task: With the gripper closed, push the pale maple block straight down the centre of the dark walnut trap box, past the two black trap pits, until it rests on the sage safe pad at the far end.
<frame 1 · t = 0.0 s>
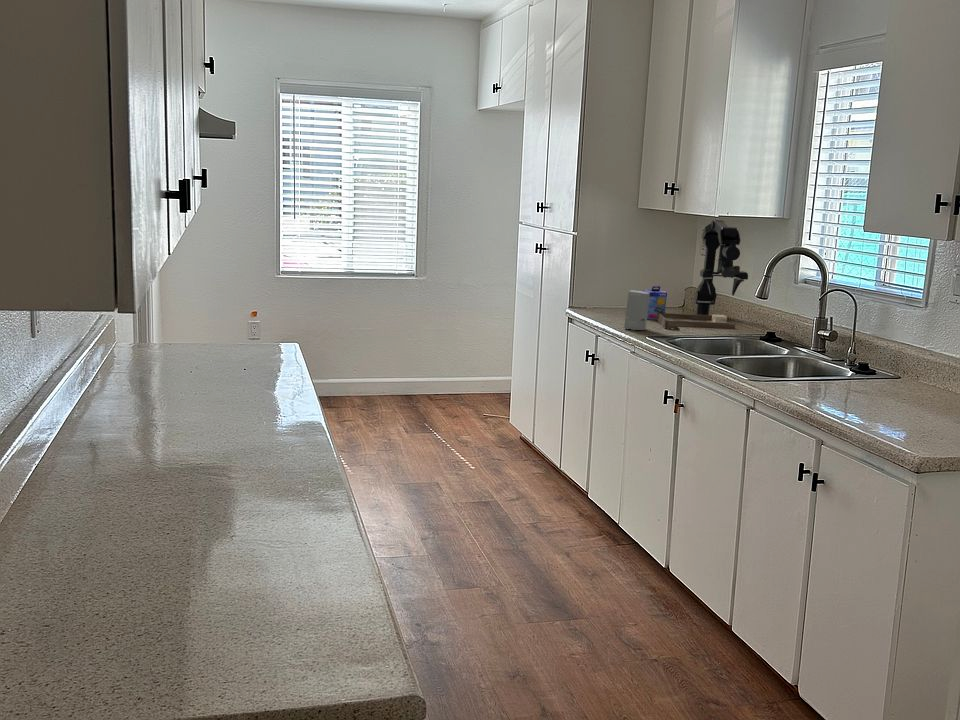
hand: (721, 295, 389), 15 cm above the worktop, fingers open, 9 cm apart
ink cartridge box: (652, 318, 412), on the worktop
maple block: (718, 323, 397), point 1 cm above the worktop, touching trap box
trap box: (695, 326, 398), on the worktop
skincare box: (635, 329, 385), on the worktop
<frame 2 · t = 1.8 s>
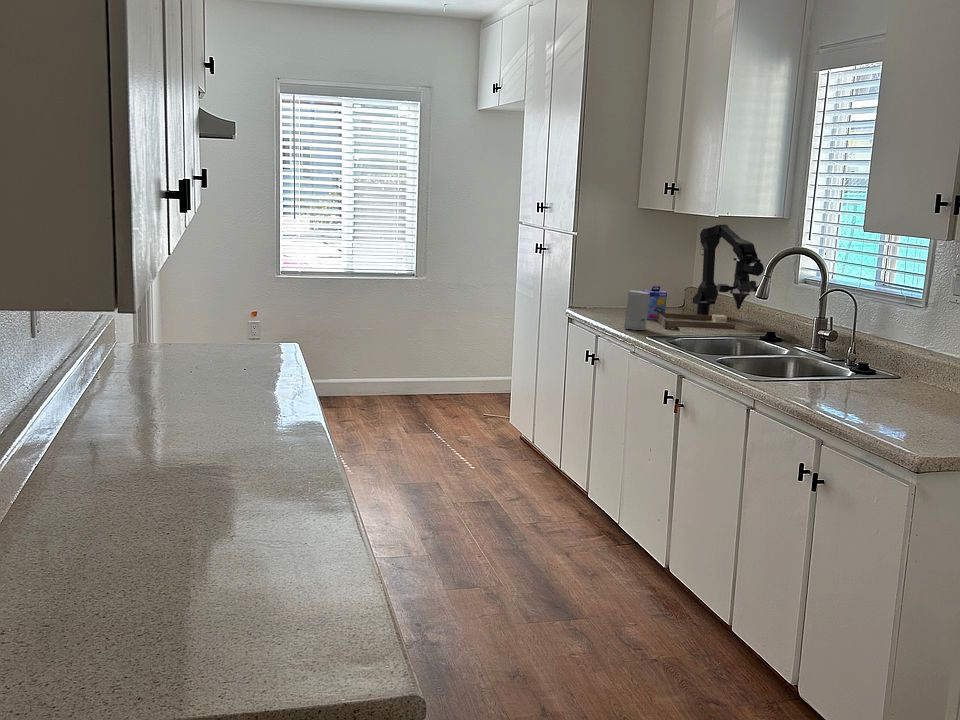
hand: (737, 309, 396), 8 cm above the worktop, fingers closed
nothing on the worktop moved.
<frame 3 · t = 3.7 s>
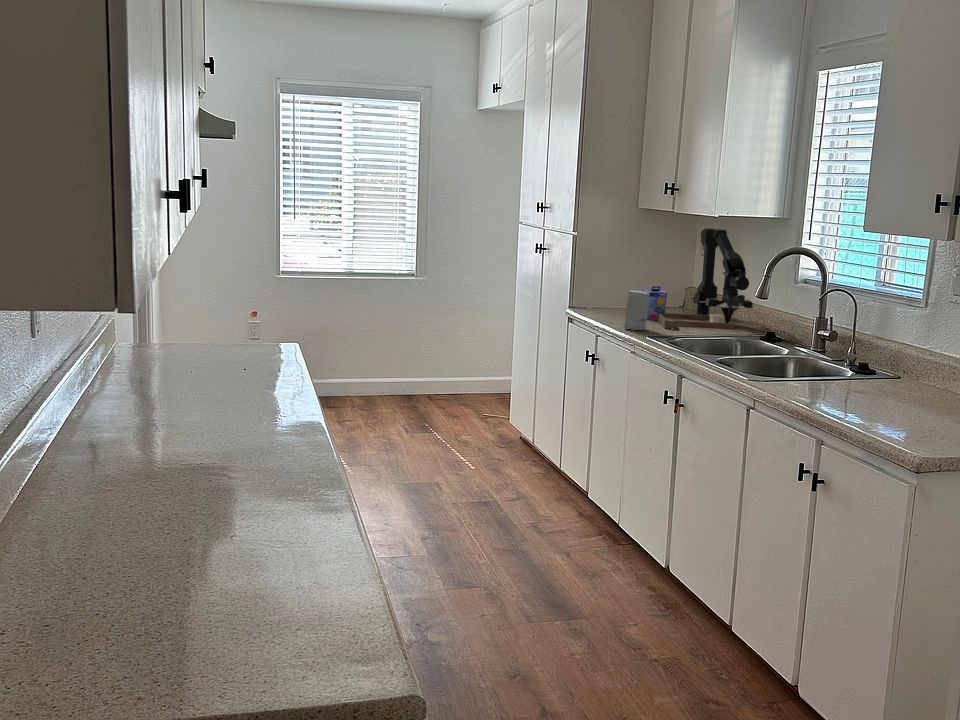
hand: (726, 323, 397), 2 cm above the worktop, fingers closed
maple block: (716, 323, 397), point 2 cm above the worktop, touching gripper
everything else where it was.
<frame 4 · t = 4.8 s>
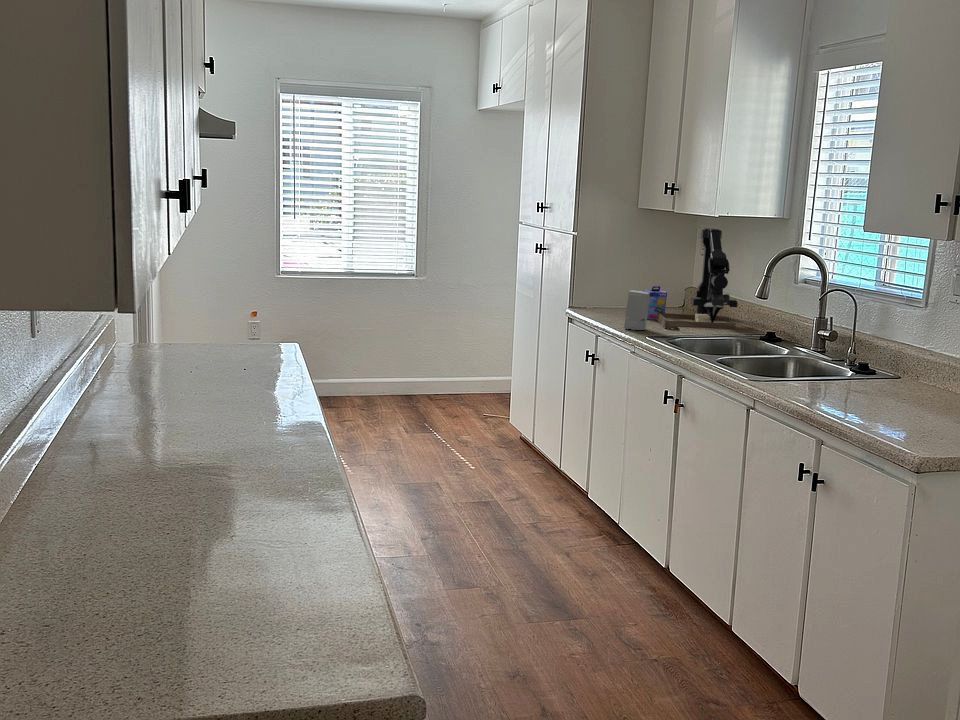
hand: (712, 322, 397), 2 cm above the worktop, fingers closed
maple block: (701, 323, 397), point 1 cm above the worktop, touching gripper, trap box
everything else where it was.
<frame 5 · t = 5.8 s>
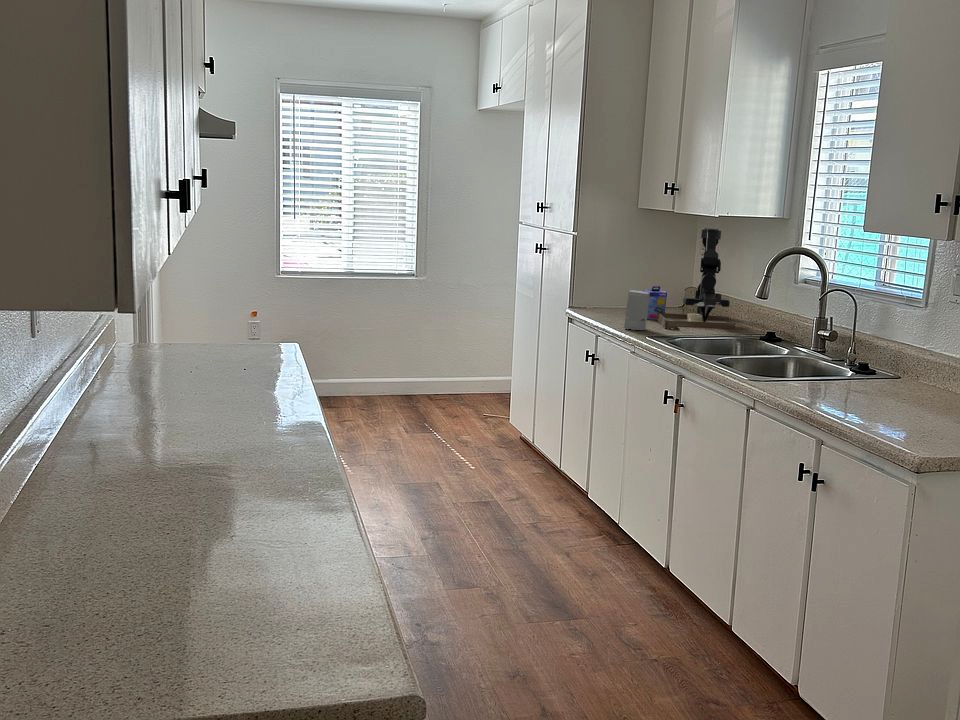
hand: (704, 321, 397), 2 cm above the worktop, fingers closed
maple block: (694, 322, 397), point 1 cm above the worktop, touching gripper, trap box
everything else where it was.
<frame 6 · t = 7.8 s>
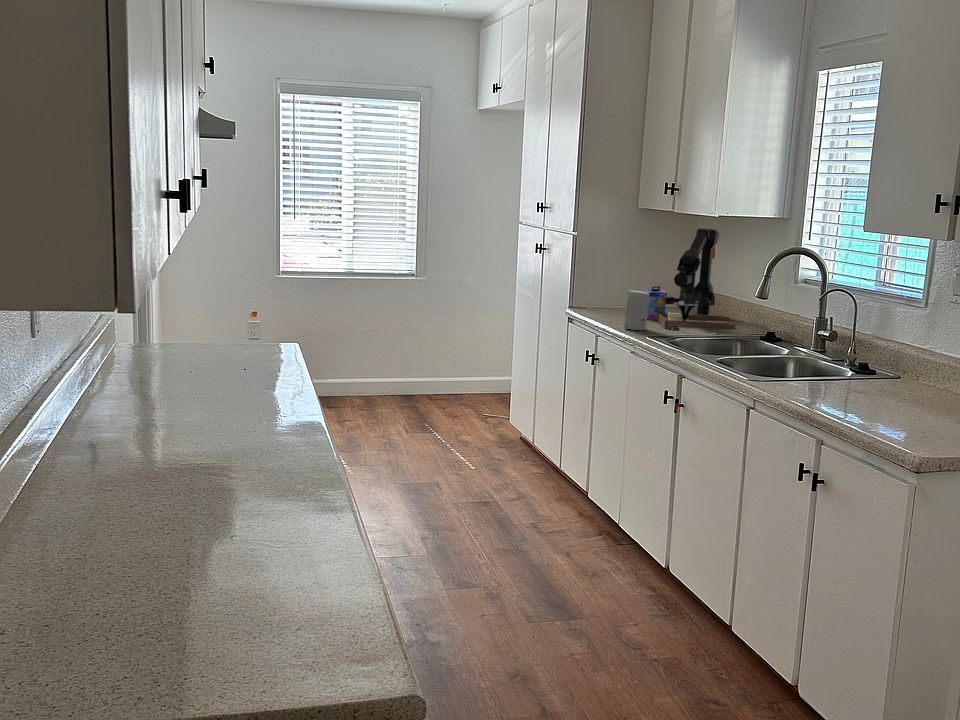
hand: (684, 320, 397), 2 cm above the worktop, fingers closed
maple block: (674, 322, 397), point 1 cm above the worktop, touching gripper, trap box
everything else where it was.
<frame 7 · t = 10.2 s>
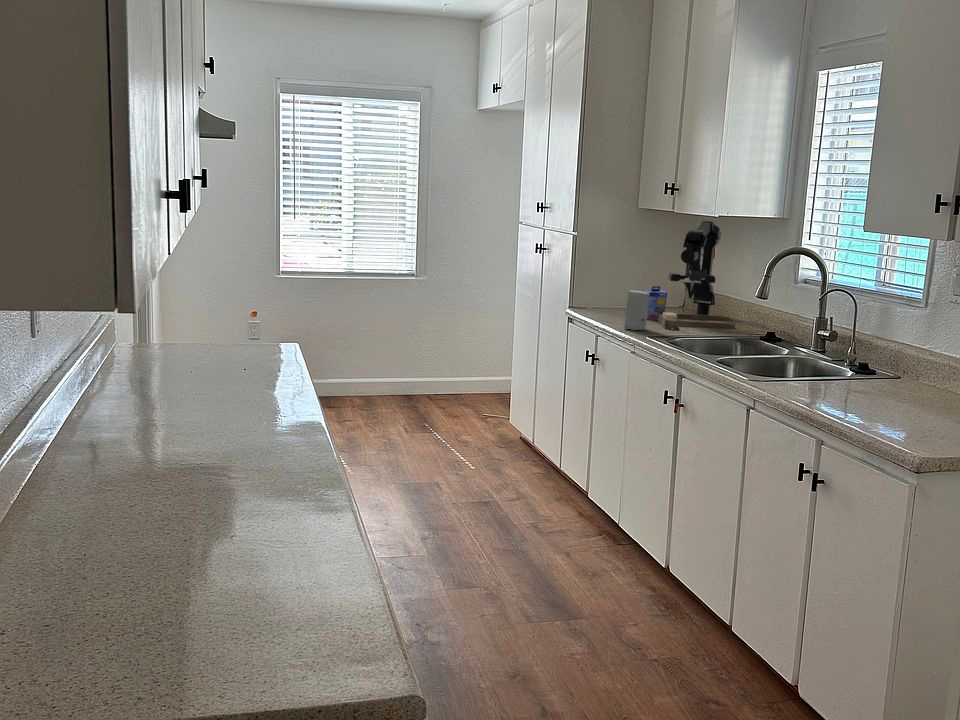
hand: (689, 298, 395), 12 cm above the worktop, fingers closed
maple block: (669, 321, 397), point 1 cm above the worktop, touching trap box
everything else where it was.
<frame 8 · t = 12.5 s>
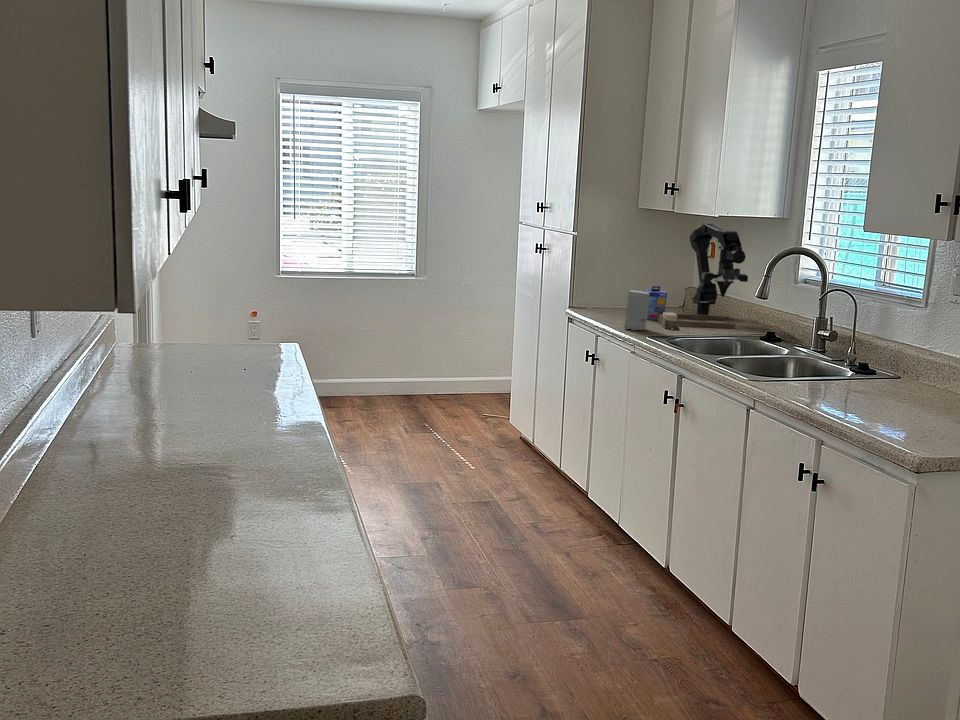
hand: (722, 296, 403), 12 cm above the worktop, fingers closed
nothing on the worktop moved.
at the end: maple block 0.5 cm from the target spot, point 1.5 cm above the worktop; maple block tilted 0°; maple block moved 21.2 cm from its start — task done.
